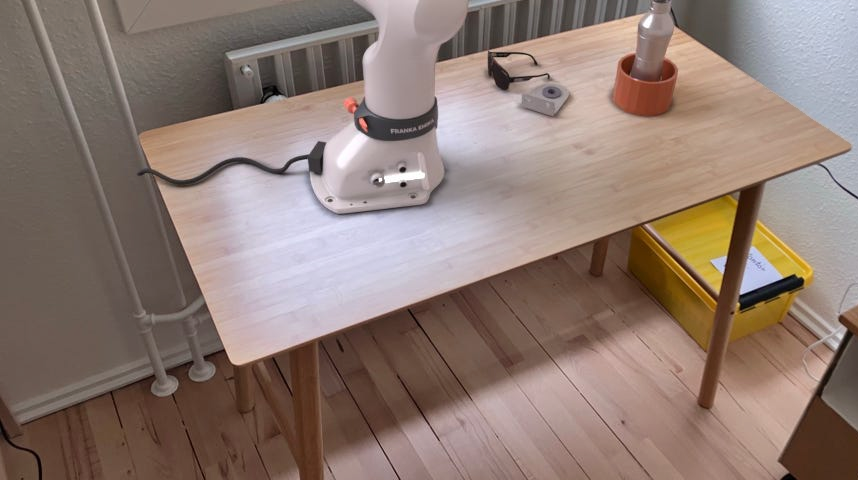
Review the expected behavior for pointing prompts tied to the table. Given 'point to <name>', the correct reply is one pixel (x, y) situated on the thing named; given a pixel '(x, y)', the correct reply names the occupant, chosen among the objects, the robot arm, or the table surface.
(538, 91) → the bracket
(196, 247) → the table surface
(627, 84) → the holder sleeve
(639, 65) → the plastic bottle
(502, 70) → the sunglasses
